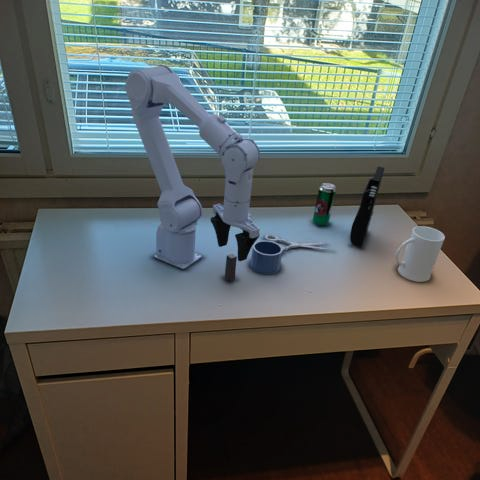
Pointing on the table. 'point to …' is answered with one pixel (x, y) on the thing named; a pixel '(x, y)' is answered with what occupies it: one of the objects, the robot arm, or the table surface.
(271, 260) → the cup
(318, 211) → the soda can
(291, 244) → the scissors
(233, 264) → the dark brown square post
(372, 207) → the black tapered piece
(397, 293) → the table surface
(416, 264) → the mug
